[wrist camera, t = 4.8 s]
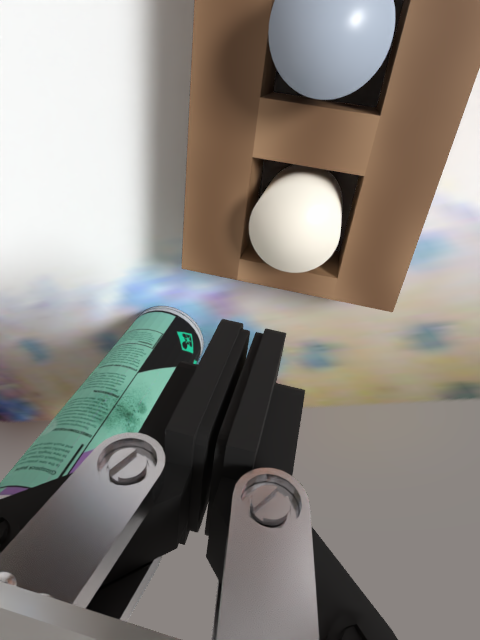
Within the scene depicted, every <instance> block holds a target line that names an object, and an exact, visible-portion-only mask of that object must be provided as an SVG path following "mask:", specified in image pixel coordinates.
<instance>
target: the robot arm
mask: <svg viewBox="0 0 480 640" xmlns="http://www.w3.org/2000/svg"><path fill="white" fill-rule="evenodd" d="M249 335H250V331H248V330H244V329H243V323H238V322H234V321H229V320H225V319H222V320H221V322H220V323H219V325H218V327H217V329H216V331H215V333H214V335H213V337H212V339H211V341H210V343H209V345H208V347H207V349H206V351H205V353H204V355H203V357H202V358H201V360H200V362H199V364H198V365H197V364H193V363H188V362H184V361H181V362H179V364H178V365H177V367H176V368H175V370H174V372H173V373H172V375H171V377H170V379H169V380H168V382H167V384H166V385H165V387H164V389H163V391H162V392H161V394H160V396H159V397H158V399H157V401H156V403H155V404H154V406H153V408H152V409H151V411H150V413H149V415H148V416H147V418H146V420H145V421H144V423H143V425H142V427H141V428H140V430H139V432H138V433H130V432H126V433H122V434H117V435H114V436H112V437H110V438H108V439H106V440H104V441H103V442H102V443H100V444H99V445H98V446H97V447H96V448H95V449H94V450H93V451H92V452H91V453H90V455H89V456H88V457H87V458H86V459H85V460H84V461H83V462H82V463H81V465H80V466H79V467H78V468H77V469H76V470H75V471H74V472H73V473H70V474H68V475H65V476H62V477H59V478H57V479H54V480H51V481H48V482H46V483H43V484H40V485H38V486H35V487H32V488H29V489H27V490H24V491H21V492H18V493H16V494H13V495H10V496H7V497H5V498H2V499H0V640H181V639H177V638H174V637H171V636H168V635H165V634H162V633H159V632H156V631H153V630H150V629H147V628H143V627H140V626H137V625H134V624H131V623H128V622H127V621H128V619H129V618H130V615H131V614H132V612H133V611H134V609H135V607H136V605H137V603H138V602H139V600H140V598H141V596H142V594H143V593H144V591H145V589H146V587H147V586H148V584H149V582H150V580H151V578H152V577H153V575H154V573H155V571H156V569H157V568H158V566H159V563H160V560H161V558H162V555H164V554H166V553H168V552H170V551H172V550H174V549H176V548H177V547H178V544H179V543H180V544H183V545H185V542H186V540H187V537H188V534H189V531H190V530H191V531H194V532H198V531H199V528H200V526H201V523H202V519H203V516H204V513H205V510H206V507H207V504H208V511H207V519H206V527H205V535H208V536H209V539H208V547H207V554H206V557H207V559H208V561H209V563H210V564H211V567H212V568H213V570H214V572H215V574H216V576H217V577H218V586H217V594H216V604H215V612H214V621H213V629H212V638H211V640H398V639H397V638H396V636H395V634H394V633H393V631H392V630H391V629H390V627H389V626H388V624H387V623H386V622H385V621H384V619H383V618H382V617H381V616H380V614H379V613H378V612H377V610H376V609H375V608H374V606H373V605H372V604H371V603H370V601H369V600H368V599H367V597H366V596H365V595H364V594H363V592H362V591H361V590H360V588H359V587H358V586H357V585H356V583H355V582H354V581H353V579H352V578H351V577H350V576H349V574H348V573H347V571H346V570H345V569H344V568H343V566H342V565H341V564H340V562H339V561H338V560H337V559H336V557H335V556H334V555H333V553H332V552H331V551H330V550H329V548H328V547H327V546H326V545H325V543H324V542H323V541H322V539H321V538H320V537H319V535H318V534H317V533H316V531H315V530H314V529H313V528H312V526H311V511H310V503H309V498H308V494H307V493H306V491H305V489H304V488H303V486H302V484H301V483H299V482H298V481H297V480H296V479H295V478H294V477H293V476H292V473H293V466H294V460H295V453H296V447H297V439H298V434H299V427H300V421H301V414H302V408H303V401H304V394H305V390H302V389H298V388H294V387H290V386H286V385H281V384H277V383H276V380H277V376H278V371H279V366H280V361H281V356H282V351H283V347H284V342H285V337H286V333H283V332H279V331H274V330H270V329H265V331H264V334H262V333H257V332H256V333H255V336H254V339H253V341H252V344H251V347H250V350H249V352H248V355H247V349H248V342H249ZM246 355H247V358H246ZM208 501H209V502H208Z"/></svg>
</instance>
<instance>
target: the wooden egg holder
mask: <svg viewBox="0 0 480 640" xmlns="http://www.w3.org/2000/svg"><path fill="white" fill-rule="evenodd" d="M274 1H275V0H195V2H194V23H193V43H192V64H191V84H190V105H189V125H188V146H187V166H186V187H185V207H184V228H183V248H182V269H187V270H191V271H196V272H201V273H206V274H211V275H216V276H220V277H225V278H230V279H235V280H240V281H244V282H249V283H254V284H259V285H264V286H269V287H273V288H278V289H283V290H288V291H293V292H298V293H302V294H307V295H312V296H317V297H322V298H327V299H331V300H336V301H341V302H346V303H351V304H356V305H360V306H365V307H370V308H375V309H380V310H385V311H389V312H393V310H394V307H395V304H396V302H397V299H398V296H399V293H400V290H401V287H402V285H403V282H404V279H405V276H406V273H407V271H408V268H409V265H410V262H411V259H412V256H413V254H414V251H415V248H416V245H417V242H418V240H419V237H420V234H421V231H422V228H423V225H424V223H425V220H426V217H427V214H428V211H429V209H430V206H431V203H432V200H433V197H434V194H435V192H436V189H437V186H438V183H439V180H440V178H441V175H442V172H443V169H444V166H445V164H446V161H447V158H448V155H449V152H450V149H451V147H452V144H453V141H454V138H455V135H456V133H457V130H458V127H459V124H460V121H461V118H462V116H463V113H464V110H465V107H466V104H467V102H468V99H469V96H470V93H471V90H472V87H473V85H474V82H475V79H476V76H477V73H478V71H479V68H480V0H404V1H403V5H402V9H401V13H400V17H399V21H398V25H397V28H396V32H395V36H394V40H393V44H392V48H391V52H390V56H389V60H388V64H387V68H386V71H385V75H384V79H383V83H382V87H381V91H380V95H379V99H378V103H377V107H370V106H363V105H357V104H350V103H343V102H337V101H330V100H320V99H313V98H309V97H303V96H297V95H290V94H283V93H277V92H274V85H275V78H276V70H277V69H276V67H275V64H274V62H273V59H272V56H271V52H270V47H269V35H268V31H269V20H270V15H271V11H272V7H273V4H274ZM264 159H266V160H272V161H278V162H284V163H290V164H296V165H302V166H308V167H313V168H319V169H325V170H331V171H337V172H343V173H349V174H355V175H359V177H358V181H357V185H356V189H355V192H354V196H353V200H352V204H351V208H350V212H349V216H348V220H347V224H346V228H345V231H344V235H343V239H342V243H341V247H340V251H336V250H335V251H334V253H333V254H332V255H331V257H330V258H329V259H328V260H327V261H326V262H325V263H323V264H322V265H320V266H319V267H317V268H315V269H312V270H310V271H306V272H300V273H290V272H284V271H281V270H278V269H276V268H274V267H272V266H270V265H269V264H267V263H266V262H265V261H264V260H262V259H261V258H260V256H259V255H258V254H257V252H256V251H255V249H254V247H253V245H252V243H251V240H250V235H249V221H250V216H251V213H252V211H253V209H254V207H255V205H256V204H257V202H258V199H259V192H260V185H261V178H262V171H263V163H264Z"/></svg>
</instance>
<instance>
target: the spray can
mask: <svg viewBox="0 0 480 640" xmlns="http://www.w3.org/2000/svg"><path fill="white" fill-rule="evenodd" d="M202 350H203V336H202V333H201V331H200V329H199V327H198V325H197V324H196V323H195V322H194V320H193V319H192V318H190V317H189V316H188V315H187V314H185V313H184V312H182V311H180V310H178V309H175V308H172V307H168V306H157V307H152V308H149V309H147V310H146V311H144V312H143V313H142V314H141V315H140V316H139V317H138V318H137V319H136V320H135V322H134V323H133V324H132V325H131V326H130V328H129V329H128V330H127V331H126V332H125V334H124V335H123V336H122V337H121V338H120V340H119V341H118V342H117V343H116V344H115V346H114V347H113V348H112V349H111V350H110V352H109V353H108V354H107V355H106V356H105V358H104V359H103V360H102V361H101V362H100V364H99V365H98V366H97V367H96V368H95V370H94V371H93V372H92V373H91V374H90V376H89V377H88V378H87V379H86V380H85V382H84V383H83V384H82V385H81V387H80V388H79V389H78V390H77V391H76V393H75V394H74V395H73V396H72V397H71V399H70V400H69V401H68V402H67V403H66V405H65V406H64V407H63V408H62V409H61V411H60V412H59V413H58V414H57V415H56V417H55V418H54V419H53V420H52V421H51V423H50V424H49V425H48V426H47V427H46V429H45V430H44V431H43V432H42V433H41V435H40V436H39V437H38V438H37V439H36V441H35V442H34V443H33V444H32V445H31V447H30V448H29V449H28V450H27V451H26V453H25V454H24V455H23V456H22V457H21V459H20V460H19V461H18V462H17V463H16V465H15V466H14V467H13V468H12V469H11V471H10V472H9V473H8V474H7V475H6V477H5V478H4V479H3V480H2V482H1V483H0V499H2V498H5V497H7V496H10V495H13V494H16V493H18V492H21V491H24V490H27V489H29V488H32V487H35V486H38V485H40V484H43V483H46V482H48V481H51V480H54V479H57V478H59V477H62V476H65V475H68V474H70V473H73V472H74V471H75V470H76V469H77V468H78V467H79V466H80V465H81V463H82V462H83V461H84V460H85V459H86V458H87V457H88V456H89V455H90V453H91V452H92V451H93V450H94V449H95V448H96V447H97V446H98V445H99V444H100V443H102V442H103V441H104V440H106V439H108V438H110V437H112V436H114V435H117V434H122V433H126V432H130V433H138V432H139V430H140V428H141V427H142V425H143V423H144V421H145V420H146V418H147V416H148V415H149V413H150V411H151V409H152V408H153V406H154V404H155V403H156V401H157V399H158V397H159V396H160V394H161V392H162V391H163V389H164V387H165V385H166V384H167V382H168V380H169V379H170V377H171V375H172V373H173V372H174V370H175V368H176V367H177V365H178V364H179V362H181V361H184V362H188V363H193V364H196V363H197V361H198V360H199V358H200V355H201V353H202Z"/></svg>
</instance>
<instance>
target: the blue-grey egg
mask: <svg viewBox="0 0 480 640" xmlns="http://www.w3.org/2000/svg"><path fill="white" fill-rule="evenodd" d="M394 29H395V5H394V0H275V1H274V4H273V7H272V11H271V15H270V20H269V31H268V35H269V47H270V52H271V56H272V59H273V62H274V64H275V67H276V69H277V71H278V72H279V74H280V76H281V77H282V78H283V80H284V81H285V82H286V83H287V84H288V85H289V86H290V87H291V88H292V89H294V90H295V91H297V92H298V93H300V94H302V95H304V96H307V97H309V98H313V99H320V100H329V99H336V98H340V97H343V96H346V95H348V94H350V93H352V92H354V91H356V90H357V89H359V88H360V87H362V86H363V85H364V84H365V83H366V82H368V81H369V80H370V79H371V78H372V76H373V75H374V74H375V73H376V72H377V70H378V69H379V68H380V66H381V65H382V63H383V61H384V59H385V58H386V55H387V53H388V51H389V48H390V45H391V42H392V39H393V34H394Z"/></svg>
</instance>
